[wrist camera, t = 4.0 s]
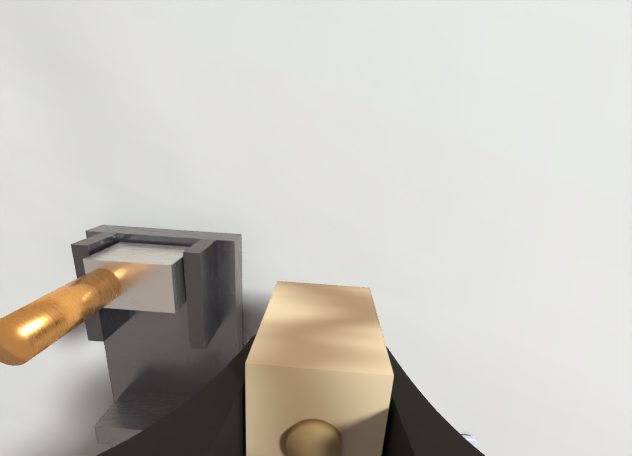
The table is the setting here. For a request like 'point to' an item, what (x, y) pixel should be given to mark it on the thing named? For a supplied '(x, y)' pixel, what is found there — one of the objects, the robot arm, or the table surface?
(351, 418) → the light wooden block
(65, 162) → the table surface
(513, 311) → the table surface
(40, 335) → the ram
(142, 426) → the press frame
